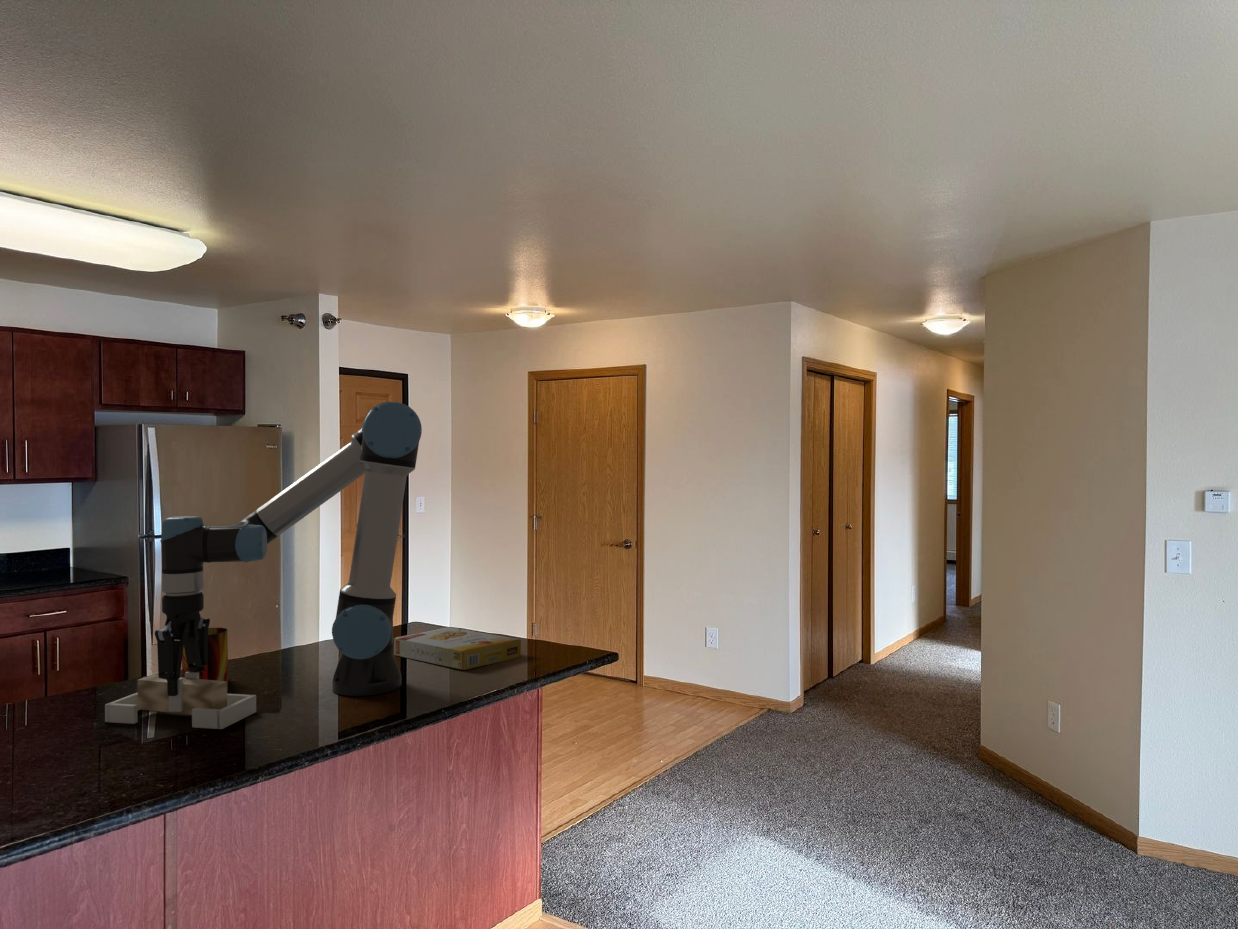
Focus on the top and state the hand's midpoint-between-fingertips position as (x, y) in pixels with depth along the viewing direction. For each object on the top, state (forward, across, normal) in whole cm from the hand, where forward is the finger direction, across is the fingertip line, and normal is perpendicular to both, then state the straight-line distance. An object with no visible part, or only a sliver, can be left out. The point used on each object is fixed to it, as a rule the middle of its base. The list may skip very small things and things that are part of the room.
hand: (184, 707), depth 171 cm
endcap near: (+2, 0, +9) cm, 9 cm away
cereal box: (+3, -58, +36) cm, 68 cm away
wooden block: (+1, 0, 0) cm, 1 cm away
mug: (+2, -23, -11) cm, 26 cm away
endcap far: (+2, 0, -10) cm, 10 cm away
